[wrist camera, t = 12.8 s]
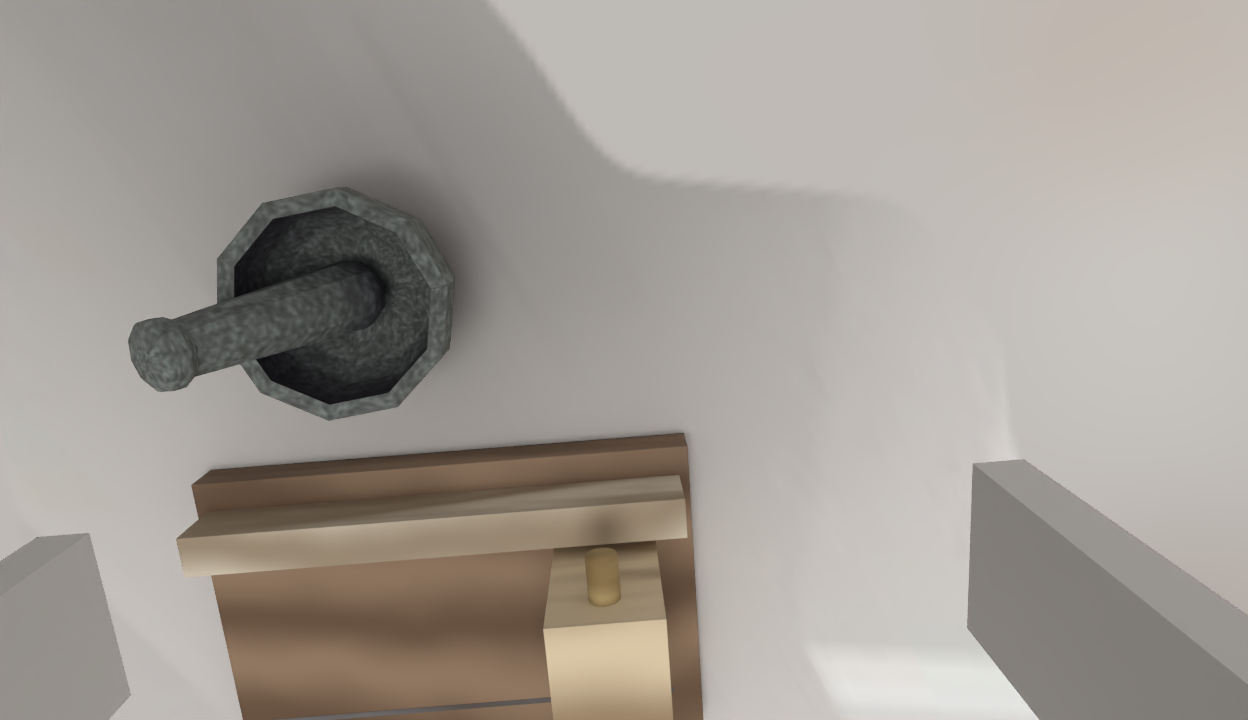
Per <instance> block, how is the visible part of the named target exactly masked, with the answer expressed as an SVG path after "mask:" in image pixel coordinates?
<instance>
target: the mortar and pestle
mask: <svg viewBox="0 0 1248 720" xmlns="http://www.w3.org/2000/svg"><path fill="white" fill-rule="evenodd" d="M454 281H455V276H454V275H453V273H452V271H451V270H450V268H449V267H448V265H447V263H446V262H445V260H444V258H443V257H442V255H441V254H440V252H439V250H438V249H437V247H436V246H435V244H434V242H433V241H432V239H431V237H430V236H429V234H428V233H427V231H426V229H425V228H424V226H423V225H422V223H421V221H420V220H419V219H417V218H414V217H412V216H410V215H408V214H405V213H403V212H401V211H399V210H397V209H394V208H392V207H390V206H388V205H385V204H383V203H381V202H379V201H377V200H374V199H372V198H370V197H368V196H365V195H363V194H361V193H359V192H356V191H354V190H352V189H350V188H347V187H341V188H333V189H328V190H323V191H319V192H314V193H309V194H304V195H299V196H295V197H290V198H285V199H280V200H275V201H270V202H266V203H262V204H261V205H260V207H259V208H258V209H257V210H256V212H255V213H254V214H253V215H252V217H251V218H250V219H249V220H248V221H247V223H246V224H245V225H244V226H243V228H242V229H241V230H240V231H239V233H238V234H237V235H236V236H235V238H234V239H233V240H232V241H231V243H230V244H229V245H228V246H227V248H226V249H225V250H224V251H223V253H222V254H221V255H220V256H219V257H218V259H217V304H215V305H212V306H210V307H207V308H204V309H201V310H198V311H195V312H192V313H189V314H187V315H184V316H181V317H178V318H175V319H172V320H171V319H167V318H164V317H161V318H154V319H148V320H145V321H141V322H138V323H136V324H135V325H134V326H133V329H132V332H131V334H130V337H129V339H128V343H129V349H130V355H131V361H132V363H133V364H134V366H135V368H136V370H137V371H138V373H139V375H140V377H141V378H142V379H143V380H144V381H145V382H146V383H148V384H149V385H150V386H151V387H153V388H154V389H155V390H156V391H160V392H164V391H176V390H179V389H182V388H185V387H187V386H188V385H189V383H190V382H191V381H192V379H193V378H194V377H195V376H199V375H202V374H206V373H209V372H213V371H217V370H220V369H224V368H227V367H231V366H234V365H238V364H241V366H242V367H243V368H244V370H245V371H246V373H247V374H248V376H249V377H250V378H251V380H252V381H253V383H254V384H255V385H256V387H257V388H258V390H259V391H260V392H261V393H263V394H265V395H268V396H270V397H272V398H275V399H277V400H280V401H282V402H285V403H287V404H289V405H292V406H294V407H297V408H299V409H302V410H304V411H306V412H309V413H311V414H314V415H316V416H319V417H321V418H324V419H326V420H328V421H330V420H335V419H340V418H345V417H350V416H355V415H360V414H365V413H370V412H375V411H380V410H385V409H390V408H395V407H398V406H399V405H400V404H401V403H402V401H403V400H404V399H405V398H406V397H407V396H408V395H409V394H410V393H411V391H412V390H413V389H414V388H415V387H416V386H417V385H418V384H419V382H420V381H421V380H422V379H423V378H424V377H425V376H426V375H427V373H428V372H429V371H430V370H431V369H432V368H433V367H434V366H435V364H436V363H437V362H438V361H439V360H440V359H441V358H442V357H443V356H444V354H445V353H446V352H447V351H448V350H449V347H450V340H451V326H452V311H453V296H454Z"/></svg>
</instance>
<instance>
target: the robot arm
mask: <svg viewBox="0 0 1248 720" xmlns="http://www.w3.org/2000/svg"><path fill="white" fill-rule="evenodd" d="M967 628H968V630H969V631H970V632H971V633H972V635H973V636H974V637H975V638H976V640H977V641H978V642H979V644H980V645H981V646H982V647H983V649H984V650H985V651H986V652H987V654H988V655H989V656H990V657H991V659H992V660H993V661H994V663H995V664H996V665H997V666H998V668H999V669H1000V670H1001V671H1002V673H1003V674H1004V675H1005V677H1006V678H1007V679H1008V680H1009V682H1010V683H1011V684H1012V685H1013V687H1014V688H1015V689H1016V690H1017V692H1018V693H1019V694H1020V696H1021V697H1022V698H1023V699H1024V701H1025V702H1026V703H1027V704H1028V706H1029V707H1030V708H1031V710H1032V711H1033V712H1034V713H1035V715H1036V716H1037V717H1038V718H1039V720H1248V615H1247V614H1245V613H1244V612H1243V611H1241V610H1240V609H1238V608H1237V607H1235V606H1234V605H1232V604H1231V603H1230V602H1228V601H1227V600H1225V599H1224V598H1222V597H1221V596H1220V595H1218V594H1216V593H1215V592H1214V591H1212V590H1211V589H1210V588H1208V587H1207V586H1205V585H1204V584H1202V583H1201V582H1199V581H1198V580H1197V579H1195V578H1194V577H1192V576H1191V575H1189V574H1188V573H1187V572H1185V571H1184V570H1182V569H1181V568H1179V567H1178V566H1176V565H1175V564H1174V563H1172V562H1171V561H1169V560H1168V559H1166V558H1165V557H1163V556H1162V555H1161V554H1159V553H1158V552H1156V551H1155V550H1153V549H1152V548H1151V547H1149V546H1148V545H1146V544H1145V543H1143V542H1142V541H1140V540H1139V539H1138V538H1136V537H1135V536H1133V535H1132V534H1130V533H1129V532H1128V531H1126V530H1125V529H1123V528H1122V527H1120V526H1119V525H1118V524H1116V523H1115V522H1113V521H1112V520H1110V519H1109V518H1107V517H1106V516H1104V515H1103V514H1102V513H1100V512H1099V511H1097V510H1096V509H1094V508H1093V507H1092V506H1090V505H1089V504H1087V503H1086V502H1084V501H1083V500H1081V499H1080V498H1079V497H1077V496H1076V495H1074V494H1073V493H1071V492H1070V491H1069V490H1067V489H1066V488H1064V487H1063V486H1061V485H1060V484H1059V483H1057V482H1056V481H1054V480H1053V479H1051V478H1050V477H1049V476H1047V475H1045V474H1044V473H1043V472H1041V471H1040V470H1038V469H1037V468H1036V467H1034V466H1033V465H1031V464H1030V463H1028V462H1027V461H1026V460H1011V461H999V462H986V463H973V475H972V504H971V533H970V562H969V591H968V620H967ZM130 695H131V694H130V690H129V686H128V682H127V678H126V674H125V670H124V666H123V663H122V659H121V655H120V651H119V647H118V643H117V639H116V635H115V632H114V628H113V624H112V620H111V616H110V612H109V608H108V604H107V601H106V597H105V593H104V589H103V585H102V581H101V577H100V573H99V570H98V566H97V562H96V558H95V554H94V550H93V546H92V542H91V539H90V535H89V533H84V534H72V535H59V536H46V537H37V538H35V539H34V540H32V541H31V542H29V543H28V544H26V545H24V546H23V547H21V548H20V549H18V550H17V551H15V552H14V553H12V554H11V555H9V556H8V557H6V558H5V559H3V560H1V561H0V720H109V719H110V718H111V716H112V715H113V714H114V713H115V712H116V711H117V710H118V709H119V708H120V706H121V705H122V704H123V703H124V702H125V701H126V700H127V699H128V698H129V696H130Z"/></svg>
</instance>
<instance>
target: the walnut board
mask: <svg viewBox="0 0 1248 720" xmlns="http://www.w3.org/2000/svg"><path fill="white" fill-rule="evenodd" d="M191 486H192V490H193V495H194V499H195V504H196V508H197V513H198V517H199V520H197V521H196V522H195V523H194V524H193V525H192V526H191V527H189V528H188V529H187V530H186V531H185V532H184V533H182V534H181V535H180V536H179V537H178V538H177V539H176V541H177V545H178V550H179V554H180V558H181V563H182V567H183V572H184V576H185V577H197V576H210V575H211V576H212V581H213V585H214V590H215V594H216V599H217V603H218V608H219V613H220V617H221V622H222V626H223V631H224V635H225V640H226V644H227V649H228V653H229V658H230V662H231V667H232V671H233V676H234V681H235V685H236V690H237V694H238V699H239V703H240V708H241V712H242V717H243V720H553V713H552V704H551V695H550V686H549V677H548V668H547V659H546V650H545V641H544V632H543V627H544V619H545V612H546V604H547V597H548V589H549V581H550V574H551V566H552V559H553V551H554V548H564V547H576V546H589V545H602V544H614V543H627V542H639V541H652V540H656V547H657V555H658V562H659V569H660V576H661V584H662V591H663V598H664V606H665V613H666V621H667V636H668V650H669V665H670V679H671V694H672V709H673V720H703V707H702V690H701V672H700V655H699V638H698V621H697V603H696V586H695V569H694V551H693V534H692V517H691V500H690V482H689V465H688V448H687V443H686V440H685V437H684V433H680V434H667V435H655V436H642V437H629V438H616V439H603V440H591V441H578V442H565V443H552V444H540V445H527V446H514V447H501V448H489V449H476V450H463V451H450V452H438V453H425V454H412V455H399V456H387V457H374V458H361V459H348V460H335V461H323V462H310V463H297V464H284V465H272V466H259V467H246V468H233V469H221V470H210V471H209V472H208V473H207V474H205V475H204V476H203V477H201V478H200V479H199V480H197V481H196V482H195V483H194V484H192V485H191Z"/></svg>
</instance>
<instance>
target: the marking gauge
mask: <svg viewBox="0 0 1248 720" xmlns="http://www.w3.org/2000/svg"><path fill="white" fill-rule="evenodd" d="M543 632H544V641H545V650H546V659H547V668H548V677H549V686H550V695H551V704H552V713H553V720H673V709H672V694H671V679H670V665H669V650H668V636H667V621H666V613H665V606H664V598H663V591H662V584H661V576H660V569H659V562H658V555H657V547H656V540H652V541H639V542H627V543H614V544H602V545H589V546H576V547H564V548H554V551H553V559H552V566H551V574H550V581H549V589H548V597H547V604H546V612H545V619H544V627H543Z"/></svg>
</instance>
